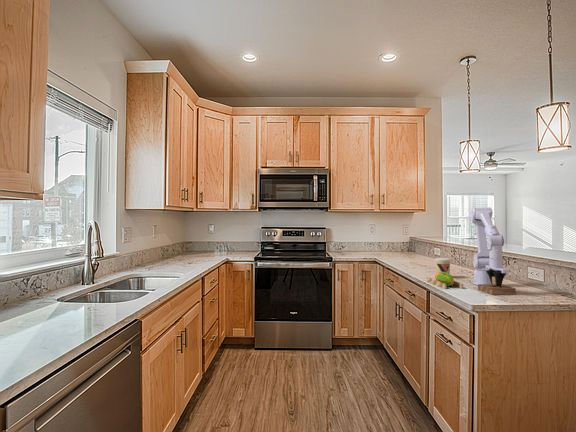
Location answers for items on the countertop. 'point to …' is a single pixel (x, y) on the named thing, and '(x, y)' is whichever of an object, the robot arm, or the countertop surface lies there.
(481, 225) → the robot arm
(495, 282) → the peg
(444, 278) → the green orange papaya
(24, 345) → the countertop surface
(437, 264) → the coffee cup
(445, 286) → the chock rails
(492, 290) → the walnut block
